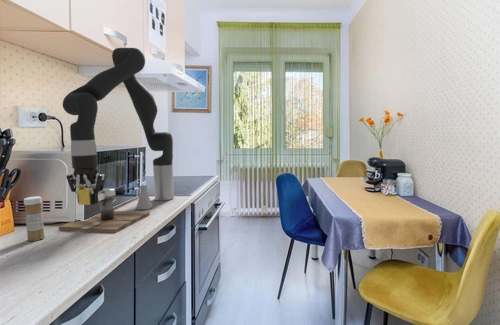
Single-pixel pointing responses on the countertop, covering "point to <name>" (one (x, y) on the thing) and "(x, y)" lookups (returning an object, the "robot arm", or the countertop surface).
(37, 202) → the sprinkles bottle
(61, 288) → the countertop surface
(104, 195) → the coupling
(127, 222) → the board
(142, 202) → the flask
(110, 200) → the glass spice jar
